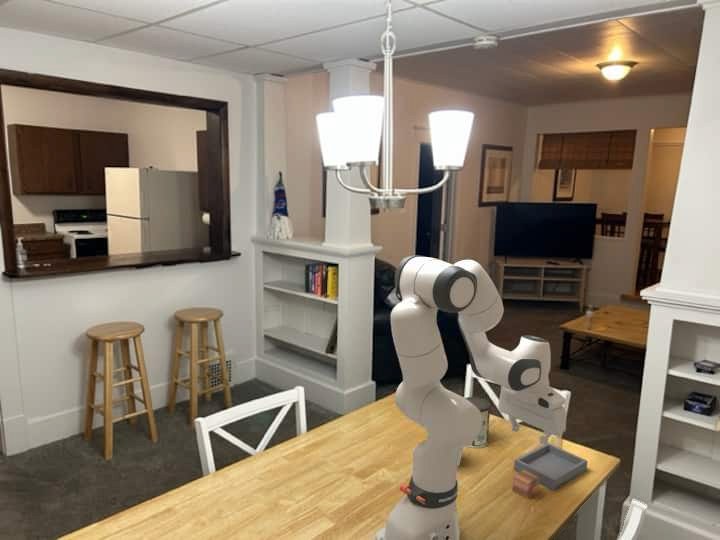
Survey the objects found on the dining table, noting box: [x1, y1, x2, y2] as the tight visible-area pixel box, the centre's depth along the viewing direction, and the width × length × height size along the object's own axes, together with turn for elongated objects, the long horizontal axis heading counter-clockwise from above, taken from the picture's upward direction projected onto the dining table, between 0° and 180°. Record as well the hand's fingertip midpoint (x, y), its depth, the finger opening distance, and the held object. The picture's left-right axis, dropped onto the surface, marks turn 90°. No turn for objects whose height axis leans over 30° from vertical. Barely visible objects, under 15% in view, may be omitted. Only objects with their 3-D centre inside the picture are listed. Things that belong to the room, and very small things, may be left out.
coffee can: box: [464, 396, 491, 449], centre depth 180 cm, size 10×10×14 cm
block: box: [512, 470, 539, 500], centre depth 151 cm, size 5×5×5 cm
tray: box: [513, 442, 588, 492], centre depth 162 cm, size 18×14×4 cm
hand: (529, 436), depth 149 cm, fingers open, 8 cm apart
